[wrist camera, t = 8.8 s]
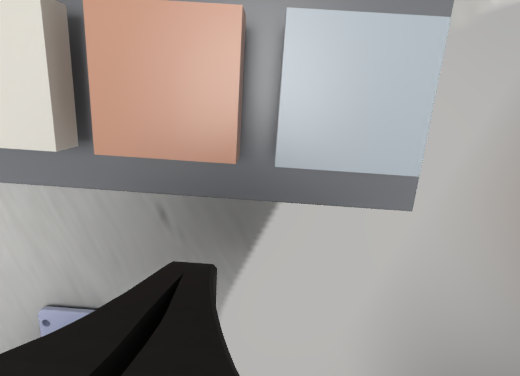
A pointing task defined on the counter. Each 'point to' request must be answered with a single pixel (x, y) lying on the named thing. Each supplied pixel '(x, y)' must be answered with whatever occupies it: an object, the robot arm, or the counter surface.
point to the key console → (252, 129)
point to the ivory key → (36, 77)
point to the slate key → (357, 90)
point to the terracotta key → (166, 78)
